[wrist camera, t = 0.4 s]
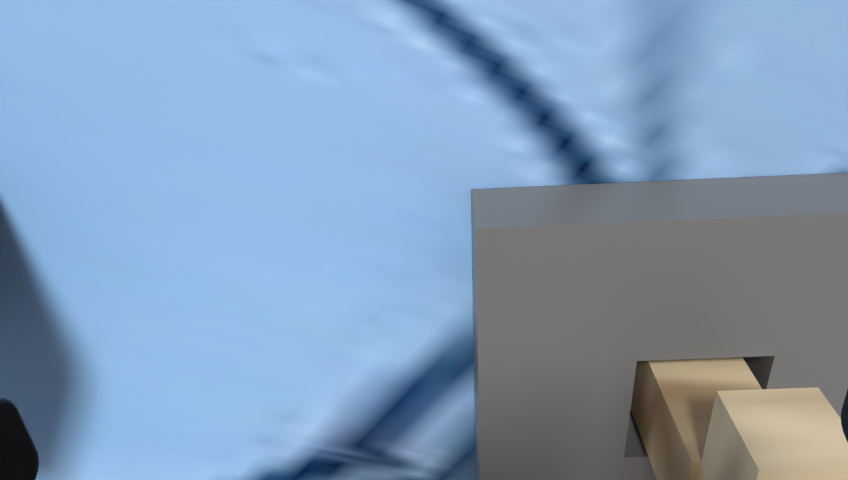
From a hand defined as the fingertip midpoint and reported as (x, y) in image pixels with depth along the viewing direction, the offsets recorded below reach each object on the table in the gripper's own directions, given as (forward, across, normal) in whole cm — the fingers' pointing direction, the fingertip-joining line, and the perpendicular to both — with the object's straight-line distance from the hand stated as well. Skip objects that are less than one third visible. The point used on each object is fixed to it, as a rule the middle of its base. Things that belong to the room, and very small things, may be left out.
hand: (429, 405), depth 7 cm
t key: (+14, -8, +11) cm, 19 cm away
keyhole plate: (+14, -8, +11) cm, 19 cm away
